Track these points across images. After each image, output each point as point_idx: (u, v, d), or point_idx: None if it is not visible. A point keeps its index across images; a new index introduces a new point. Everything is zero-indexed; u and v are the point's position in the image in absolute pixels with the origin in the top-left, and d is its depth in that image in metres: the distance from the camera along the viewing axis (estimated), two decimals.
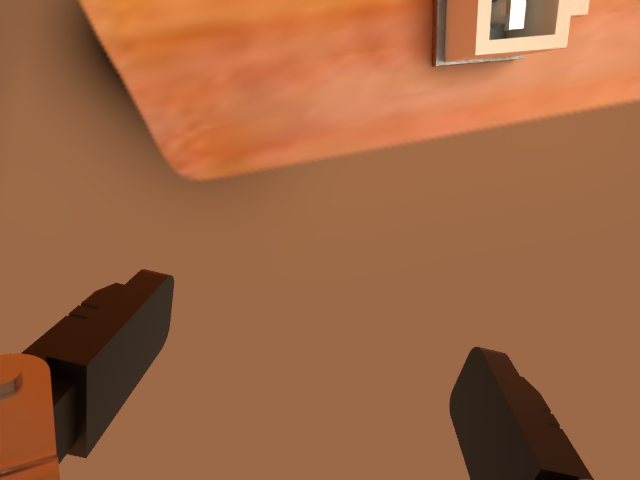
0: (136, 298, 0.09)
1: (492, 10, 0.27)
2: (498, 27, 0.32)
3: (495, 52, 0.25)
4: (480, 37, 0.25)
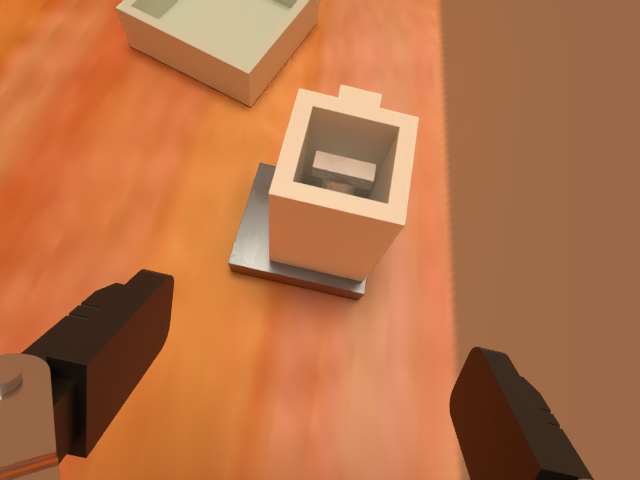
0: (136, 298, 0.09)
1: None
2: None
3: (406, 198, 0.16)
4: (381, 214, 0.16)
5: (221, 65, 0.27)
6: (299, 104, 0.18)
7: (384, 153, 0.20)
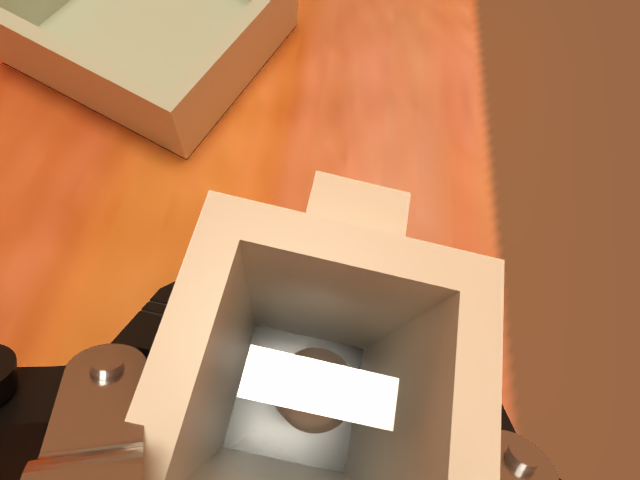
0: None
1: None
2: None
3: None
4: None
5: (127, 96, 0.16)
6: (205, 236, 0.07)
7: (413, 314, 0.09)
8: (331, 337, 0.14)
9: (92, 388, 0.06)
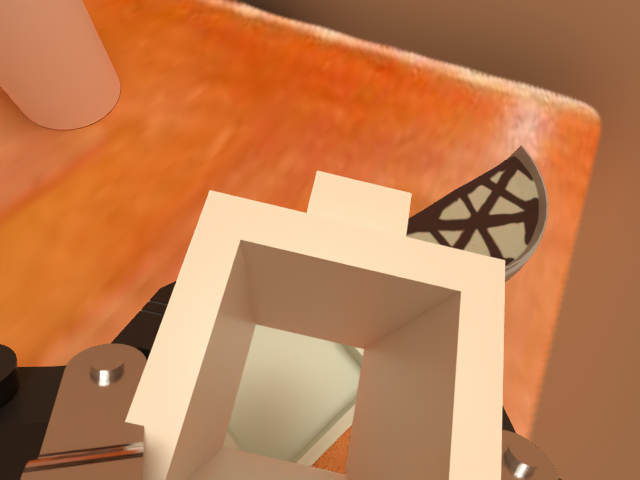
0: None
1: None
2: None
3: None
4: None
5: None
6: (205, 237, 0.07)
7: (414, 314, 0.09)
8: (331, 337, 0.14)
9: (92, 388, 0.06)
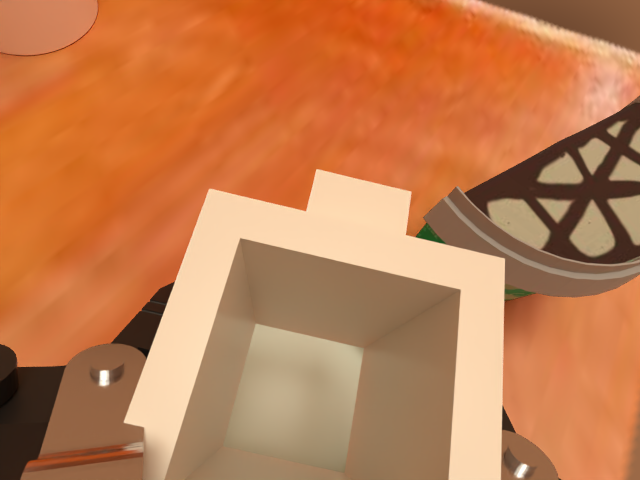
0: None
1: None
2: None
3: None
4: None
5: None
6: (205, 235, 0.07)
7: (414, 313, 0.09)
8: (331, 336, 0.14)
9: (92, 388, 0.06)
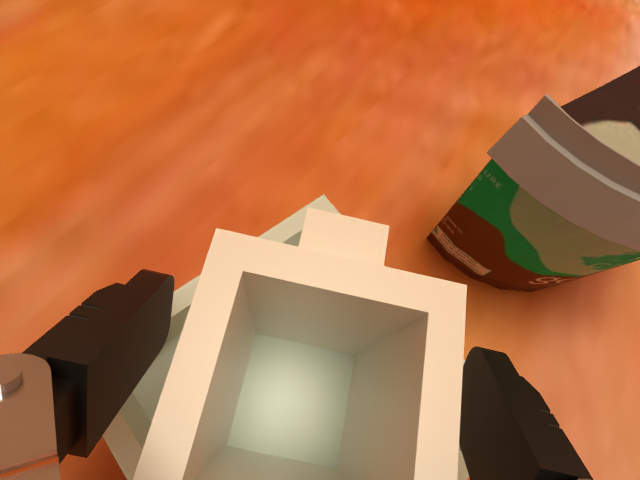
0: (136, 298, 0.09)
1: None
2: None
3: None
4: None
5: None
6: (213, 269, 0.08)
7: (394, 328, 0.10)
8: (325, 345, 0.15)
9: None
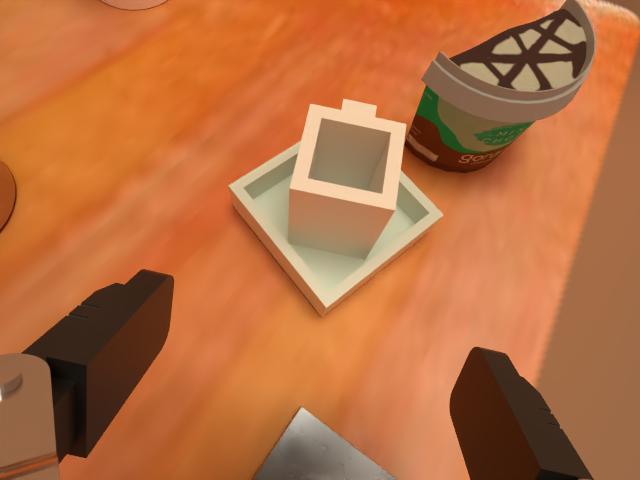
0: (136, 298, 0.09)
1: None
2: None
3: (396, 189, 0.21)
4: (377, 202, 0.21)
5: (304, 282, 0.25)
6: (311, 117, 0.22)
7: (380, 153, 0.24)
8: None
9: None
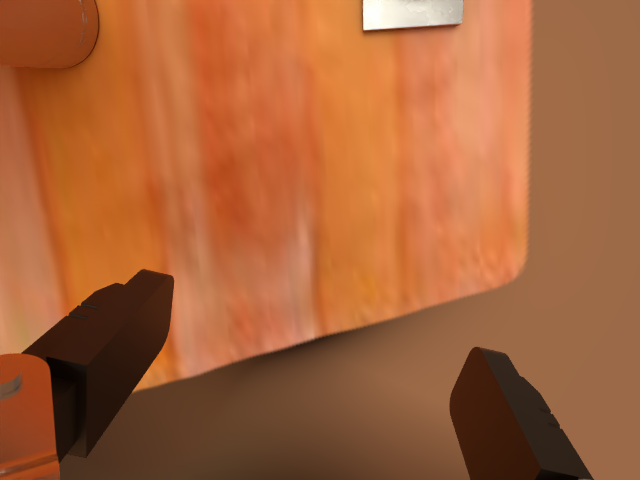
0: (136, 298, 0.09)
1: None
2: None
3: None
4: None
5: None
6: None
7: None
8: None
9: None
